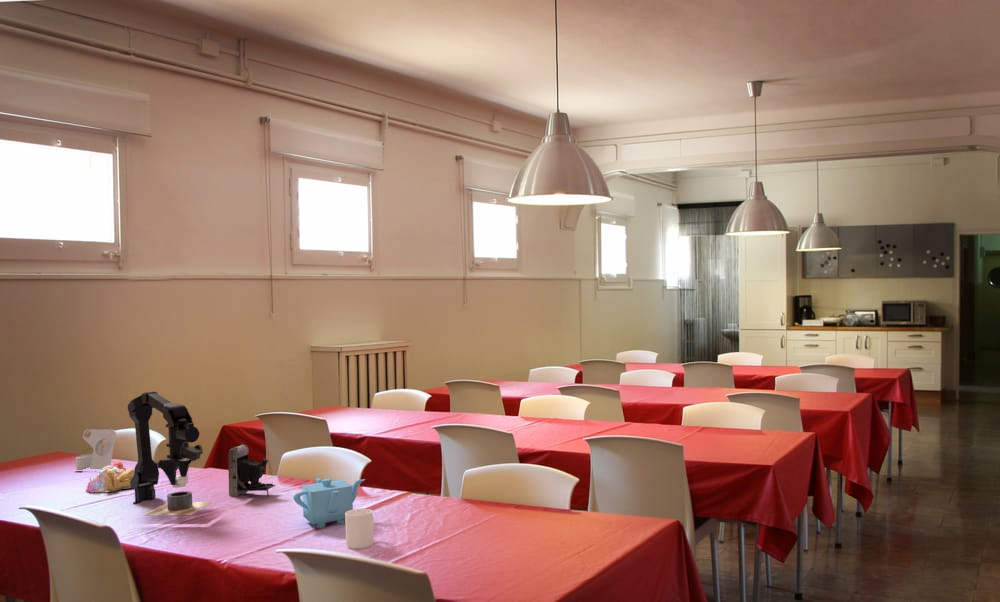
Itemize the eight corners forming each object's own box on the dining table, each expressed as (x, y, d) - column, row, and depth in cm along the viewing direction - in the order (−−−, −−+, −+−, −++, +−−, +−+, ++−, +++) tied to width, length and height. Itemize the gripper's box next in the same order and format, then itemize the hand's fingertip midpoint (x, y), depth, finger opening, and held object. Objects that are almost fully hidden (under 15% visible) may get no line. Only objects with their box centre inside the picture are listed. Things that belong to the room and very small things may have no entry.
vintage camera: (264, 501, 320) (264, 449, 320) (227, 498, 323) (227, 447, 323) (276, 495, 330) (276, 444, 329) (240, 493, 333) (240, 443, 332)
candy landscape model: (157, 483, 356) (156, 462, 356) (106, 496, 336) (105, 473, 336) (121, 478, 369) (120, 457, 369) (70, 490, 349) (69, 468, 349)
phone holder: (72, 471, 386) (71, 432, 386) (88, 466, 396) (86, 428, 396) (106, 471, 383) (104, 432, 382) (120, 467, 393) (118, 428, 392)
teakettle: (290, 528, 279) (288, 484, 279) (318, 513, 297) (316, 472, 297) (341, 531, 274) (339, 487, 274) (367, 516, 292) (365, 474, 292)
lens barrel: (163, 510, 304) (162, 497, 304) (174, 504, 313) (174, 491, 312) (185, 510, 303) (184, 496, 303) (196, 504, 312) (195, 491, 311)
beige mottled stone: (165, 488, 304) (165, 480, 304) (175, 483, 312) (175, 475, 312) (182, 488, 304) (182, 480, 304) (192, 483, 311) (191, 475, 311)
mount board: (142, 518, 299) (142, 515, 299) (167, 505, 317) (167, 502, 317) (190, 518, 297) (190, 515, 297) (213, 505, 315) (213, 501, 315)
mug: (362, 536, 267) (361, 504, 267) (385, 539, 264) (383, 506, 264) (340, 548, 256) (339, 514, 256) (363, 550, 253) (362, 516, 253)
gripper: (185, 444, 297) (187, 488, 298) (209, 435, 316) (211, 476, 316) (155, 445, 299) (157, 488, 299) (181, 435, 317) (183, 476, 317)
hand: (178, 482), depth 308 cm, fingers closed on beige mottled stone, 7 cm apart
